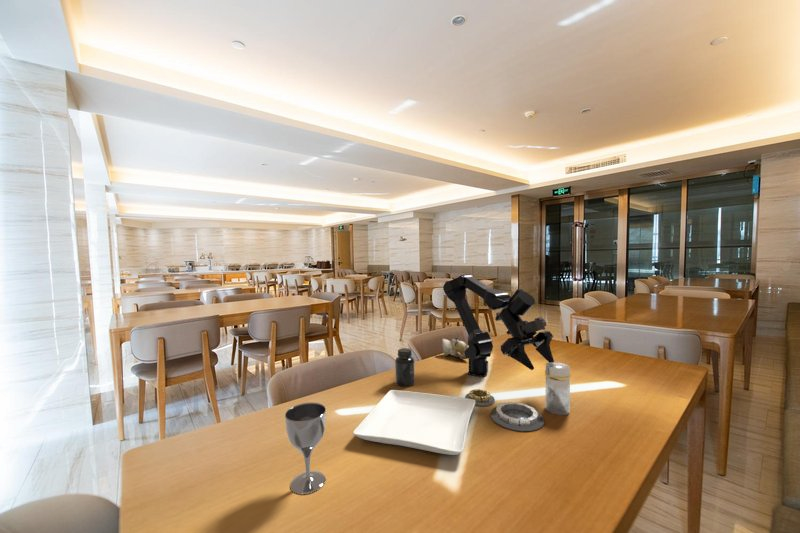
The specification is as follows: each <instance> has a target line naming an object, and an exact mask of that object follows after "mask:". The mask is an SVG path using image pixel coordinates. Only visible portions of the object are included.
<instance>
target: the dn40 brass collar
mask: <svg viewBox="0 0 800 533" xmlns="http://www.w3.org/2000/svg"><path fill="white" fill-rule="evenodd" d="M464 398H467V399H474V400H475V401H476V403H475V406H474V407H489V406H492V405H494V404H495V397H494V395H491V393H490V392H489V391H487V390H486V389H480V388H479V389H478V388H477V389H471V390H469V392H468V393H467V394H465V396H464Z"/></svg>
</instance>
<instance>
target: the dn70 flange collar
mask: <svg viewBox="0 0 800 533" xmlns="http://www.w3.org/2000/svg"><path fill="white" fill-rule="evenodd" d="M490 418H491V420H492V421H493V422H494V423H495V424H497V426H500V427H502V428H504V429H507V430H511V431H514V432H525V433H527V432H534V431H538V430H540V429H542V428H543V427H544V424H545V419H544V416H543V415H542V414H540V413H539V411H537V410H536V409H535V408H534V407H532V406H530V405H528V404H526V403H522V402H515V401H509V402H508V401H505V402H502V403H500V404H498V405H497V406H495V407H493V408H492V409H491V411H490Z"/></svg>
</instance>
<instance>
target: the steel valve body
mask: <svg viewBox="0 0 800 533" xmlns="http://www.w3.org/2000/svg"><path fill="white" fill-rule="evenodd" d="M544 375H545V410H546V411H547V412H549V413H551V414H554V415H558V416H566V415H569V414H570V413H571V412H570V411H571V396H570V395H571V378H572V377H571V376H572V375H571V366H570V365H568V364H567V363H563V362H557V361H556V362H555V361H554V362H546V363H545V370H544Z"/></svg>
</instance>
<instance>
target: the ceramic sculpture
mask: <svg viewBox="0 0 800 533" xmlns="http://www.w3.org/2000/svg"><path fill="white" fill-rule="evenodd" d="M441 346H442V350H443V355H444V356H450V355H451V356H453V357H455V358H458V357H459V359H460V360H466V359H467V360H469V359H468V358H466V357H465V354H464V351H465V350H466V349H467V348H468V347H469V346H468V343H466V342H465V341H462V340H459V338H458V337H455V338H452V339H451V340H448V339H447V338H442V339H441ZM449 354H450V355H449Z"/></svg>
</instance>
